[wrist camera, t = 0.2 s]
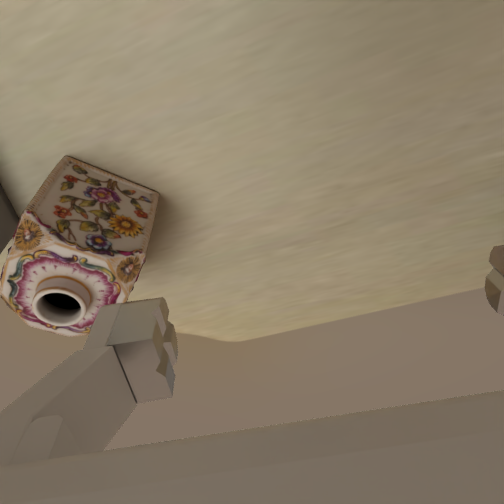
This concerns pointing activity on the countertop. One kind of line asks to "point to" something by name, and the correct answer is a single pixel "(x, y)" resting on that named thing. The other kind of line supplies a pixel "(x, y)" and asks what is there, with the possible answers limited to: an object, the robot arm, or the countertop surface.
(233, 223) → the countertop surface
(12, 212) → the grey bin
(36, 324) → the decorative jar
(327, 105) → the countertop surface
